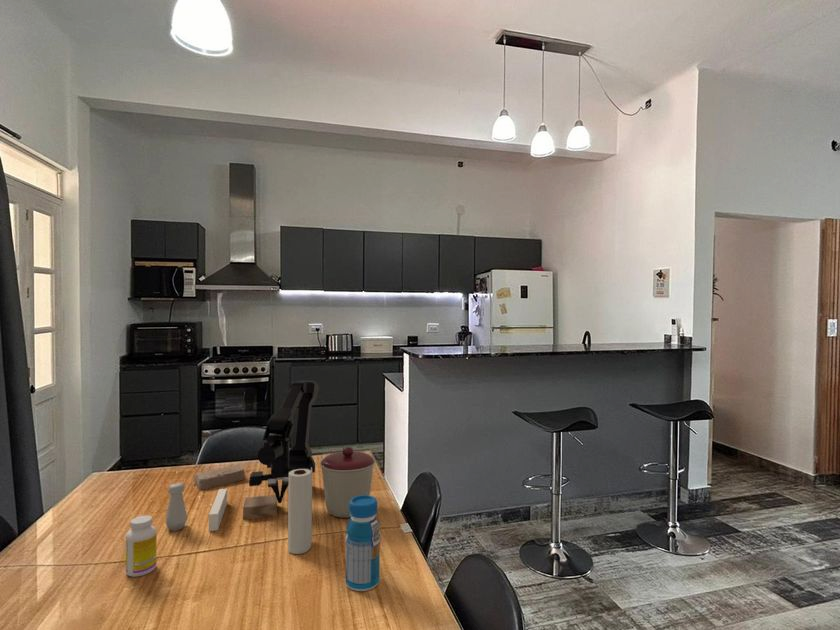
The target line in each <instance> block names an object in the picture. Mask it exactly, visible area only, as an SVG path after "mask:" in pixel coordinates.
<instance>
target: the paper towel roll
mask: <svg viewBox="0 0 840 630" xmlns="http://www.w3.org/2000/svg"><path fill="white" fill-rule="evenodd" d="M287 501H288V502H287V504H288V507H287V508H288V509H287V510H288V511H287V512H288V513H287V514H288V515H287V517H288V518H287V519H288V520H287V521H288V523H287V524H288V528H287V550H288V552H289V553H290V554H292V555H301V554H304V553H307V552H308V551H310V549H311V547H312V541H313V539H312V538H313V537H312V536H313V533H312V532H313V531H312V530H313V529H312V528H313V526H312V525H313V519H312V518H313V473H312V468H311V471H310V470H308V469H296V470H292V471H290V472H289V486H288V500H287Z"/></svg>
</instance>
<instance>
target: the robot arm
mask: <svg viewBox="0 0 840 630" xmlns="http://www.w3.org/2000/svg"><path fill="white" fill-rule="evenodd" d="M289 387H290V388H289V390H288V393H287V395H286V396H285V397H284V400H283V403H282V405H281V407H280V408H279V409H278V410H277V411H275V412H273V414H272V415H271V417H270V418H269V420H267V423H266V427H265V431H264V434H263V437H262V440H263V441H265V442H263V446H262V447H261V448H260V449H259V450H258V453H257V459H258V461H259V462H260V463H261V464H262V465H263V466H264V465H265V466H266V468H267V469H270V473H265V474H264V471H263V470H262V471H252V472H251V473H250V474H249V478H248V485H249V487H257V486H260V485H261V484H262V483H263V481H264V482H266V481H267V482H268V483H267V487H268V488H271V490H272V491H273V492H274V495H276V498H277V504H281V503H282V501H283V499H284V495H285V493H286V491H287V489H288V488H289V472H290V471H292V470H296V469H308V470H310V471H311V468H312V474H313V473H315V471H316V465H317V464H316V462H315V459H313V451H312V449H311V447H310V445H309V439H310V438H309V437H310V427H311V416H312V406H313V404H314V403H315V401H316V400H317V397H318V394H319V391H320V390H319V389H320V385H319V384H318V383H317V381H316V380H299V381H292V382H291V383H290V386H289ZM297 408H298V410H297ZM296 410H297V411H298V412H297V420H296V431H295V432H296V433H295V439H294V440H295V442H294V445H293V447H292V448H291V449H290V439H291V437H292V433H293V430H294V428H295V425H294V424H295V421H294V415H295V413H296ZM279 480H281V486H280V487H279Z"/></svg>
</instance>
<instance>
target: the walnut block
mask: <svg viewBox="0 0 840 630" xmlns="http://www.w3.org/2000/svg"><path fill="white" fill-rule="evenodd" d="M277 510H278V500H277V498H276V495H275V494H273V495H272V494H271V495H261V496H260V495H259V496H250V497H248V496H247V497H245V498H244V502H243V507H242V519H243V520H249V519H250V520H251V519H252V520H253V519H261V518H269V517H270V518H272V517H277V514H278V513H277V512H278V511H277Z"/></svg>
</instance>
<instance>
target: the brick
mask: <svg viewBox="0 0 840 630" xmlns="http://www.w3.org/2000/svg"><path fill="white" fill-rule="evenodd" d="M245 475H246V472H245V468H244V467H243V466H241V465H239V464H231V465H227V466H223V467H221V468H216V469H215V468H214V469H209V470H204V471H200V472H196V473H195V476H194V479H193V480H194V481H193V482H194V486H196V488H197V489H198V490H200V491H201V490H206V489H210V488H215V487H218V486H224V485H227V484H228V485H229V484H232V483H233V484H234V483H237V482H240V481H243V480H244V479H245V478H246V477H245Z"/></svg>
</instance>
